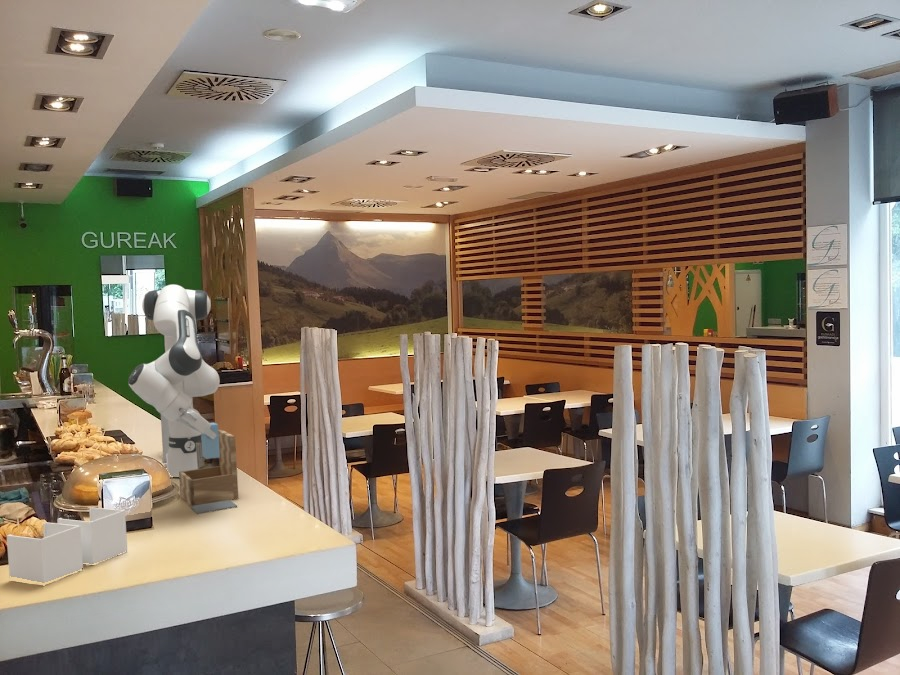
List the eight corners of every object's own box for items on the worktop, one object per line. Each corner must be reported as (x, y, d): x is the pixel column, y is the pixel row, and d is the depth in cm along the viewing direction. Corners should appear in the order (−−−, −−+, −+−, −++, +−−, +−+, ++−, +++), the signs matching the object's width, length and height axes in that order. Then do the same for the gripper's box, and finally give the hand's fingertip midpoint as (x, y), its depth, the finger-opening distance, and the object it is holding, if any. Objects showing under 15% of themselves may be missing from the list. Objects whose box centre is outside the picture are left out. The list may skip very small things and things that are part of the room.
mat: (190, 507, 248) (190, 506, 248) (229, 501, 254) (229, 499, 254) (197, 513, 240) (197, 512, 240) (237, 507, 246) (237, 505, 246)
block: (202, 456, 247) (200, 424, 247) (215, 454, 249) (213, 422, 249) (206, 458, 243) (204, 425, 242) (219, 457, 245) (218, 424, 244)
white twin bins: (44, 587, 183) (41, 539, 183) (9, 582, 188) (6, 535, 187) (127, 552, 206) (124, 510, 206) (95, 548, 211) (92, 507, 210)
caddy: (180, 496, 263) (176, 435, 262) (225, 489, 270) (221, 429, 269) (191, 506, 249) (187, 442, 248) (238, 498, 256) (234, 436, 255)
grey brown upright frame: (231, 484, 277) (228, 437, 276) (224, 488, 271) (221, 441, 270) (205, 484, 278) (202, 438, 277) (197, 489, 272) (195, 441, 271)
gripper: (192, 402, 233) (228, 431, 238) (177, 396, 250) (210, 424, 256) (177, 419, 231) (213, 448, 236) (162, 412, 248) (197, 439, 254)
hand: (212, 435), depth 246 cm, fingers closed on block, 5 cm apart
